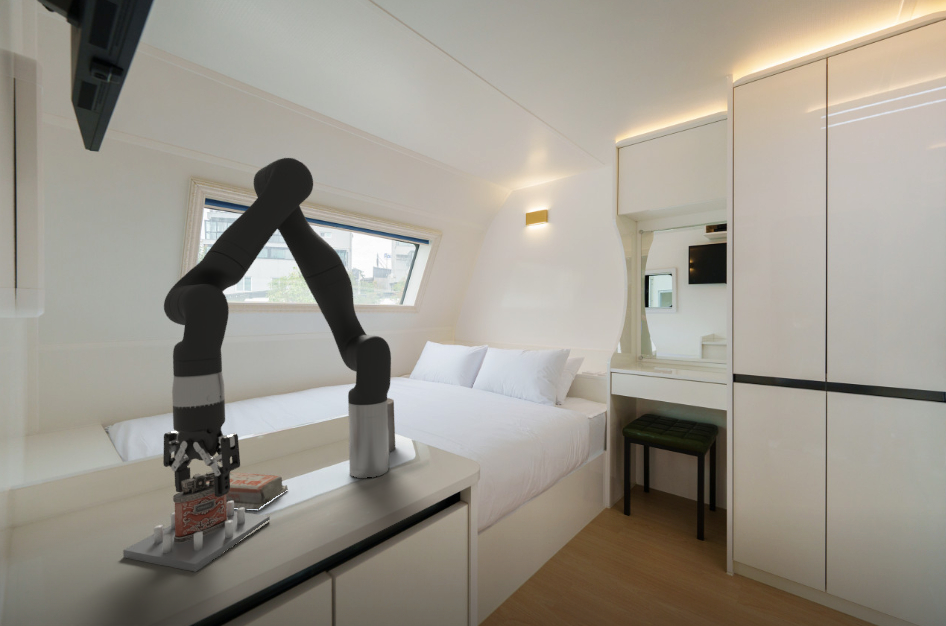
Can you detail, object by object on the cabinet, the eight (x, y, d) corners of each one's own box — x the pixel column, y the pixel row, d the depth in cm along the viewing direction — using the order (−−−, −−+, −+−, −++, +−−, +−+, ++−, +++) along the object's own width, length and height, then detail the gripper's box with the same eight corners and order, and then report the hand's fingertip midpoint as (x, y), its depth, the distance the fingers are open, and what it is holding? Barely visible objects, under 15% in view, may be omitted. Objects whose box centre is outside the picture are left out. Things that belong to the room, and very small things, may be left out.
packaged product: (289, 470, 91) (257, 490, 81) (289, 492, 91) (258, 514, 81) (219, 465, 95) (180, 483, 85) (219, 486, 95) (180, 507, 85)
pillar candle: (374, 442, 124) (372, 392, 123) (402, 445, 120) (400, 394, 120) (352, 453, 115) (351, 399, 114) (382, 457, 111) (380, 401, 111)
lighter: (177, 545, 68) (176, 484, 68) (171, 538, 70) (170, 479, 70) (231, 525, 74) (230, 469, 74) (223, 519, 76) (222, 465, 76)
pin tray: (206, 513, 81) (206, 494, 81) (269, 522, 77) (269, 502, 77) (123, 557, 67) (123, 534, 67) (195, 571, 63) (195, 547, 63)
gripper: (249, 396, 73) (252, 487, 74) (187, 394, 77) (190, 480, 77) (212, 406, 66) (216, 507, 66) (146, 403, 70) (149, 498, 70)
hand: (202, 492), depth 72 cm, fingers open, 8 cm apart
